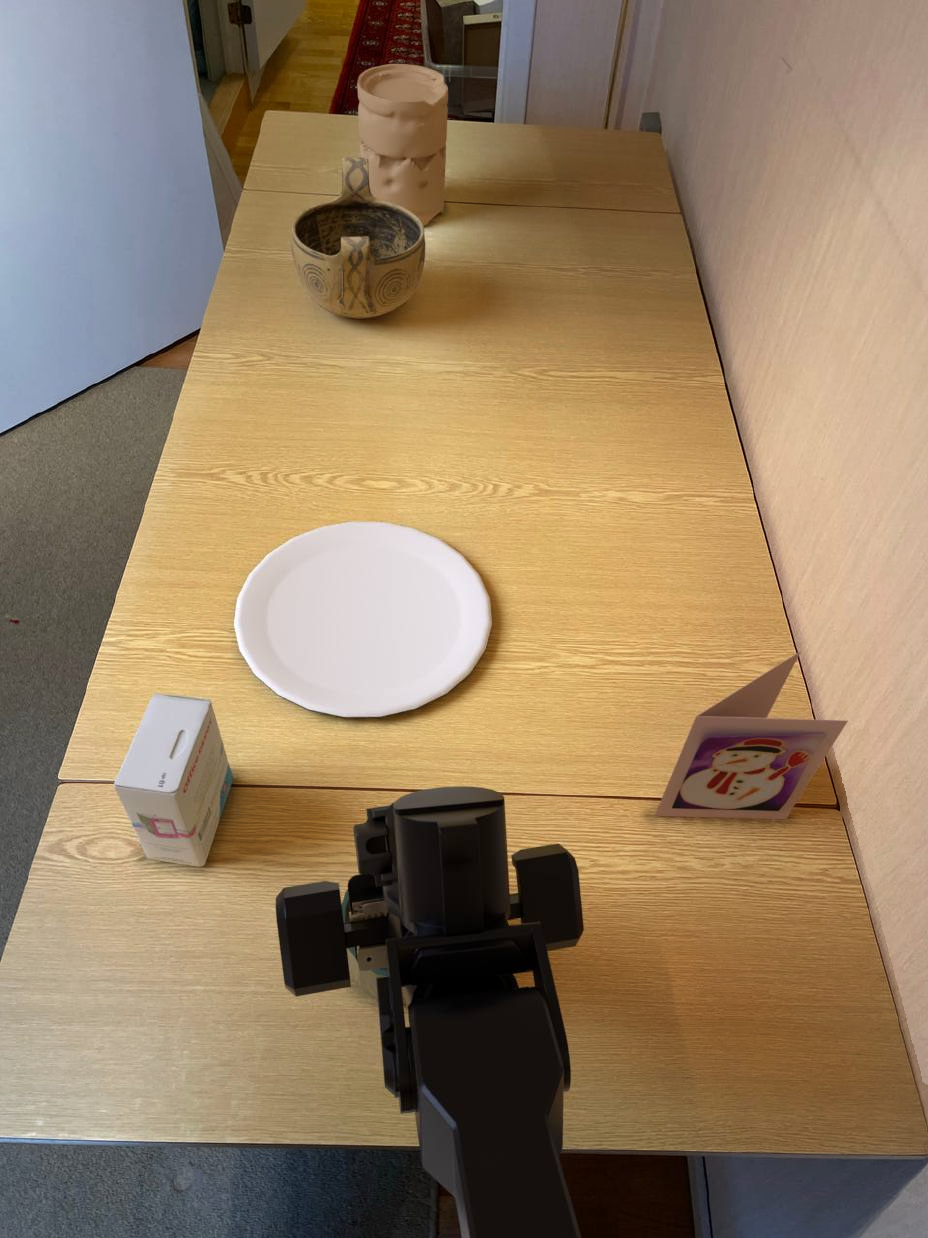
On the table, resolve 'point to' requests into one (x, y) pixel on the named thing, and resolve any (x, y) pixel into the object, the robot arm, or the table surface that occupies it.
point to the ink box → (175, 779)
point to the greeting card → (748, 756)
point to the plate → (363, 619)
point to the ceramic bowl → (358, 249)
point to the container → (405, 136)
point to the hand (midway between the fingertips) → (414, 873)
